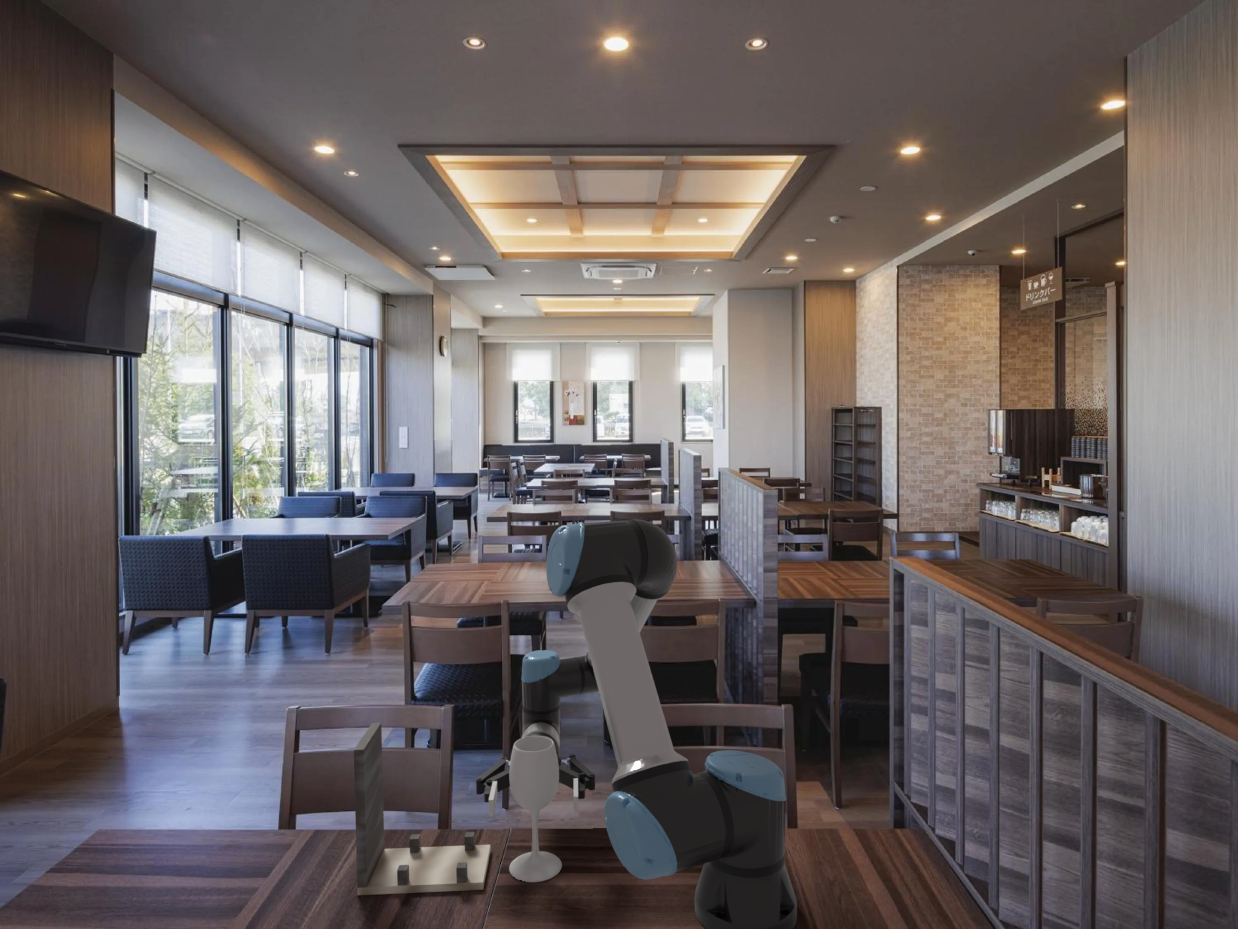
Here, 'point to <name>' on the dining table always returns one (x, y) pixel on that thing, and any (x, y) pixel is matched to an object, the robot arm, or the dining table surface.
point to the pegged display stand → (416, 863)
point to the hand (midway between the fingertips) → (533, 806)
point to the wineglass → (534, 801)
